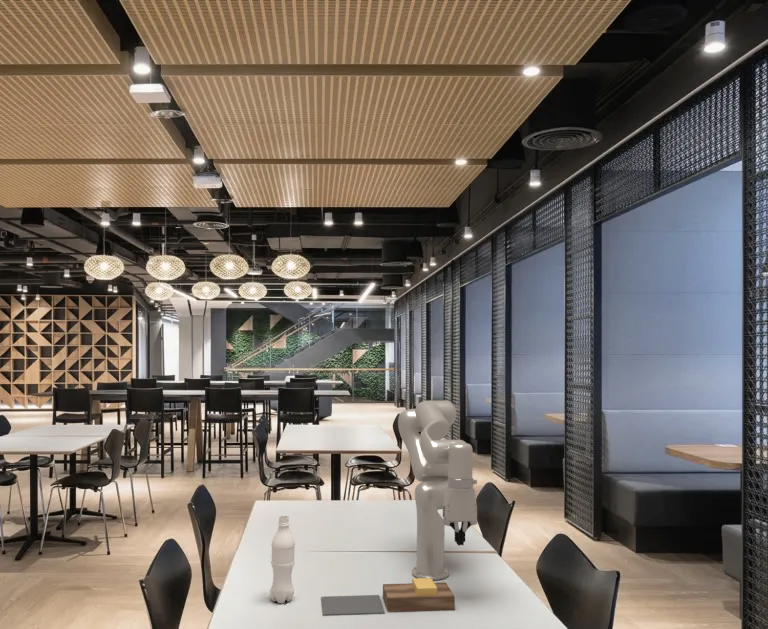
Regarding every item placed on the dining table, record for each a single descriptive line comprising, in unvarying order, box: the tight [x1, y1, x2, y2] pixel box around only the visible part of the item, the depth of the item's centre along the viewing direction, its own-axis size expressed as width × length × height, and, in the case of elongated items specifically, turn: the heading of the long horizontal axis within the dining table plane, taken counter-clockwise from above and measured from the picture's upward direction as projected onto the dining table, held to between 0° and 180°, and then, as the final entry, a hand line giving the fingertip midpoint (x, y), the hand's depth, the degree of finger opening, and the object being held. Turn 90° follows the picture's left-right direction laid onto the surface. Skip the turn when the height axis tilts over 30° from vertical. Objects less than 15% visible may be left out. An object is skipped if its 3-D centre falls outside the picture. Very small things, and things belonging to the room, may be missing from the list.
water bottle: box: [269, 515, 296, 604], centre depth 202 cm, size 7×7×25 cm
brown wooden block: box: [382, 582, 456, 613], centre depth 201 cm, size 12×20×4 cm, turn 97°
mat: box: [320, 594, 386, 617], centre depth 198 cm, size 14×18×1 cm
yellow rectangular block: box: [411, 577, 437, 596], centre depth 201 cm, size 9×6×2 cm, turn 7°
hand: (459, 544), depth 203 cm, fingers closed
